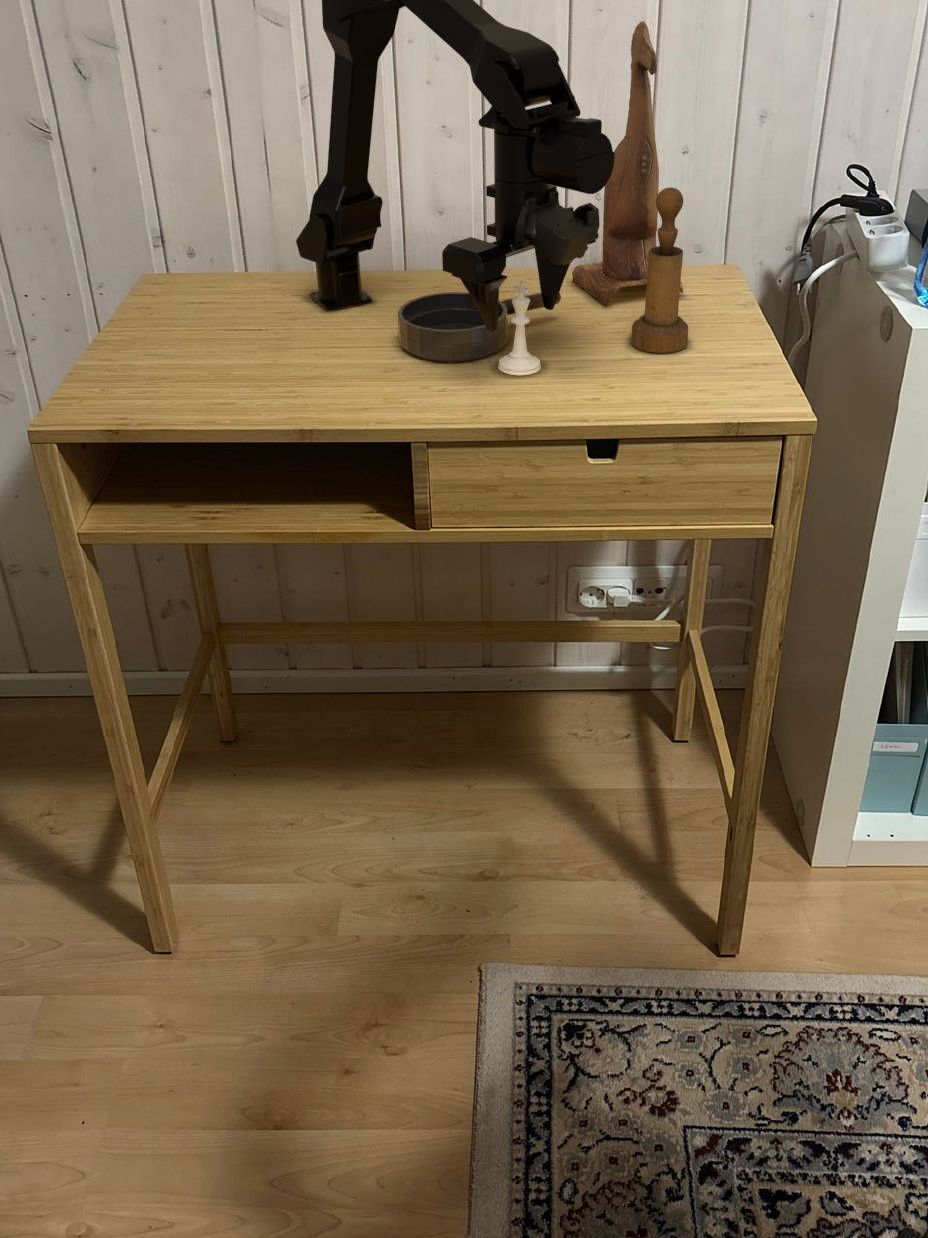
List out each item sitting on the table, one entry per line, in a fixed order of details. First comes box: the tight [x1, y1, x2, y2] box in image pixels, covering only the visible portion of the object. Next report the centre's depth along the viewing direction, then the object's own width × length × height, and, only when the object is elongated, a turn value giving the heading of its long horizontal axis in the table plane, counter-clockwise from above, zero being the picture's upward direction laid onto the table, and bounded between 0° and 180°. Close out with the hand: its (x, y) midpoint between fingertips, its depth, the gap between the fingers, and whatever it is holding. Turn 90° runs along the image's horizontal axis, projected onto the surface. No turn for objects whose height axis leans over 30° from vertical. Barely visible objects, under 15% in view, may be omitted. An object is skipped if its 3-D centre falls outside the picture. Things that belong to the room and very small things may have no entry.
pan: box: [397, 291, 509, 363], centre depth 141 cm, size 13×13×4 cm
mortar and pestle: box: [630, 187, 689, 354], centre depth 136 cm, size 7×6×18 cm
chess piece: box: [497, 280, 542, 376], centre depth 133 cm, size 5×5×10 cm
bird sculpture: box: [571, 20, 684, 305], centre depth 147 cm, size 11×12×32 cm
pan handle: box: [498, 292, 562, 316], centre depth 145 cm, size 9×2×2 cm, turn 118°
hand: (521, 319), depth 132 cm, fingers open, 9 cm apart
